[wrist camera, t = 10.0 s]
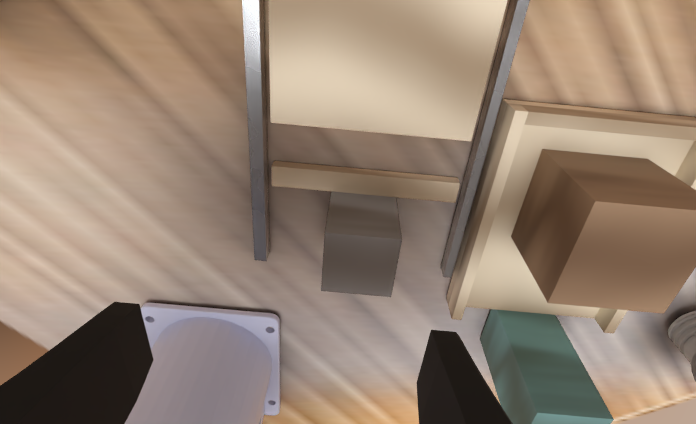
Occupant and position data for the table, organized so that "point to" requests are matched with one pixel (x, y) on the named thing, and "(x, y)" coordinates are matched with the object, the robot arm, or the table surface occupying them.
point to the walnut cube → (607, 231)
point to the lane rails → (258, 125)
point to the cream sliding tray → (511, 270)
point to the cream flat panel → (376, 109)
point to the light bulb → (685, 337)
